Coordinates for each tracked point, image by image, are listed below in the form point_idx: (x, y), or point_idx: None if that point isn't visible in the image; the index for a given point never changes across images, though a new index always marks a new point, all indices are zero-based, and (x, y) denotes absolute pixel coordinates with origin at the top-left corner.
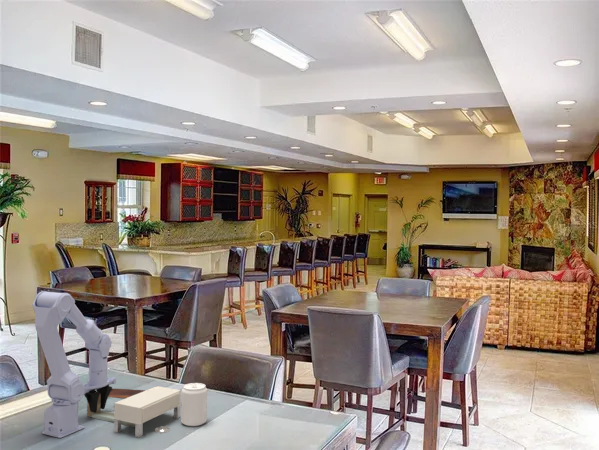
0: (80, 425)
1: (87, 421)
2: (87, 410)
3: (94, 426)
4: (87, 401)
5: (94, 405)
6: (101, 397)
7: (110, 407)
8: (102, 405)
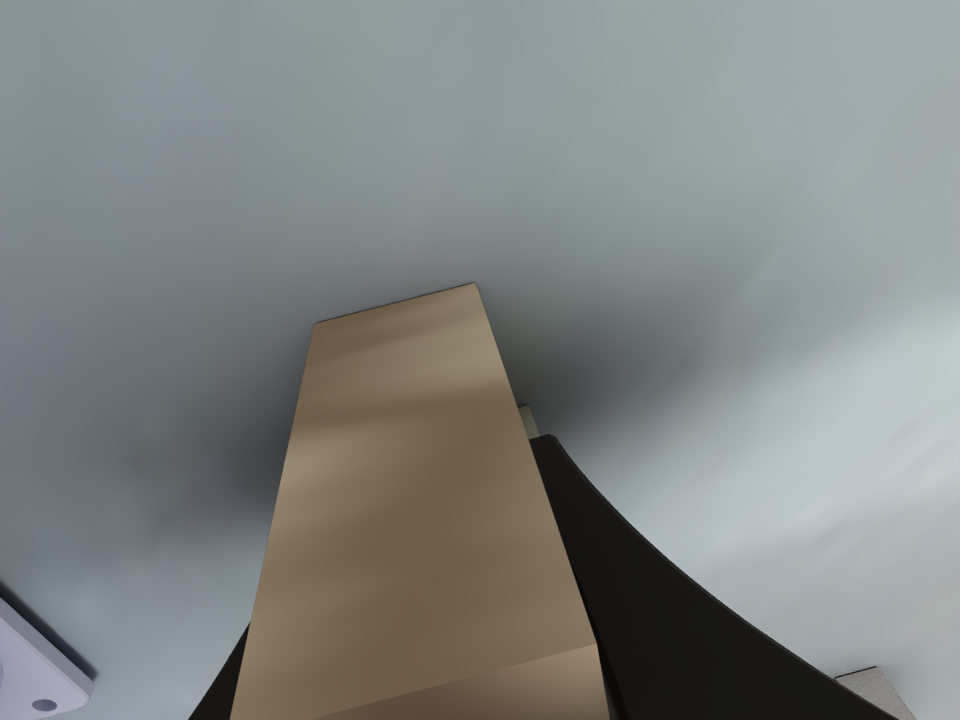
0: (47, 663)
1: (219, 527)
2: (308, 390)
3: None
4: (277, 537)
5: None
6: (604, 682)
7: (835, 227)
8: None
